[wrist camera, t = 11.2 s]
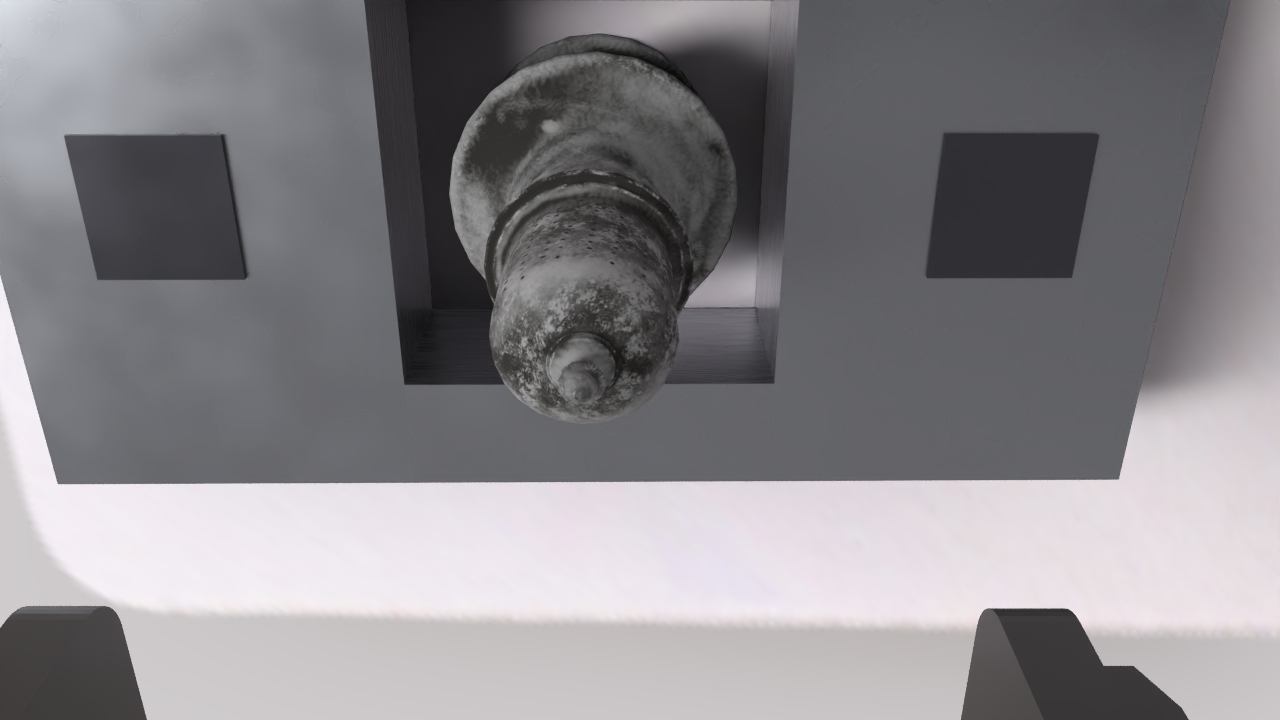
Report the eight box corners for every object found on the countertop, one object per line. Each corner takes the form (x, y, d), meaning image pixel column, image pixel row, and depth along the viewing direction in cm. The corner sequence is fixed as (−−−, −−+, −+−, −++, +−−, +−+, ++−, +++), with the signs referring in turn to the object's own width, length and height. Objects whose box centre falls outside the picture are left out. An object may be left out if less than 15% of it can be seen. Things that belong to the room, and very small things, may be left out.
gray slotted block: (1165, -156, 23) (1267, -147, 19) (1057, 395, 29) (1120, 481, 25) (-2, -160, 23) (-121, -151, 19) (128, 398, 29) (56, 486, 25)
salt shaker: (714, 272, 27) (774, 576, 17) (473, 263, 27) (375, 566, 16) (733, 25, 25) (820, 197, 14) (467, 14, 24) (345, 180, 14)
